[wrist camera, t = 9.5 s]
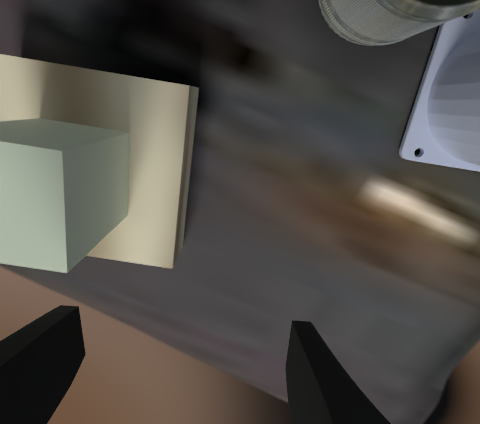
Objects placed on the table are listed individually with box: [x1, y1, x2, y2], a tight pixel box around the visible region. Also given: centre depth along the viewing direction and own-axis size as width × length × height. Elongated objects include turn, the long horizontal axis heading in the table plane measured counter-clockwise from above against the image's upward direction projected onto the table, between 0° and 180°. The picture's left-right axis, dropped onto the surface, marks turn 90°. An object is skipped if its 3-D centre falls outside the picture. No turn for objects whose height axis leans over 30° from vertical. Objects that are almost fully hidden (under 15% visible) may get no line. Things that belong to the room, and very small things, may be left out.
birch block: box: [0, 54, 199, 269], centre depth 18 cm, size 10×10×3 cm
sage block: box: [0, 118, 130, 273], centre depth 13 cm, size 4×4×6 cm
